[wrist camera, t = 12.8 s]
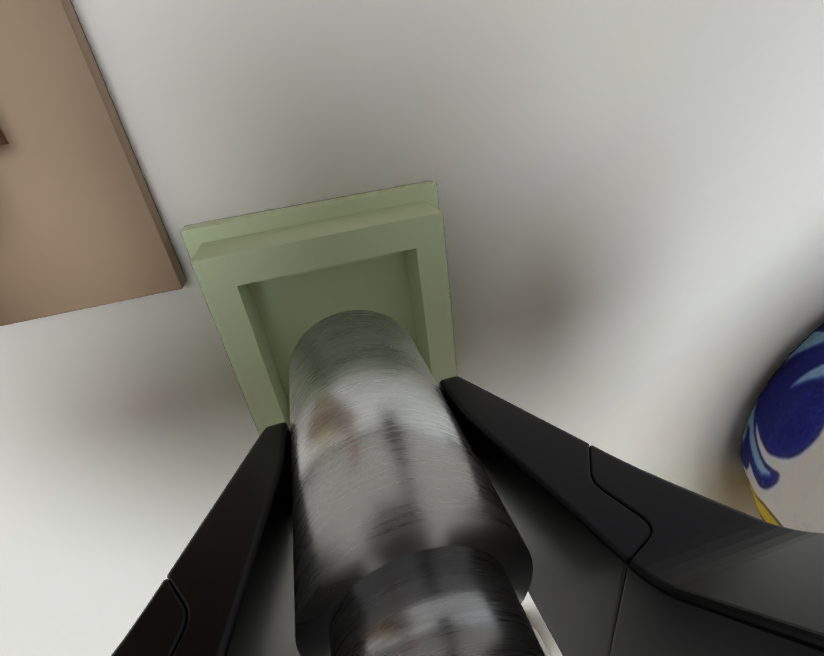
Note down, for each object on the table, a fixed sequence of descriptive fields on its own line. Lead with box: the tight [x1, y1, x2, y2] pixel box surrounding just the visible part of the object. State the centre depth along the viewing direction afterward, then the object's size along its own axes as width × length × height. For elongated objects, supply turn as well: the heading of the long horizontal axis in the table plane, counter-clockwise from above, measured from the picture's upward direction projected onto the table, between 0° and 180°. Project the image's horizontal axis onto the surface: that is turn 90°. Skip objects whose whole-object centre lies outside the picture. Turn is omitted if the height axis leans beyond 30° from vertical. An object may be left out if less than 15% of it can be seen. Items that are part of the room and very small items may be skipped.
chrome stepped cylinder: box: [289, 310, 545, 656], centre depth 8 cm, size 3×3×8 cm
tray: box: [180, 181, 457, 435], centre depth 13 cm, size 7×7×2 cm
